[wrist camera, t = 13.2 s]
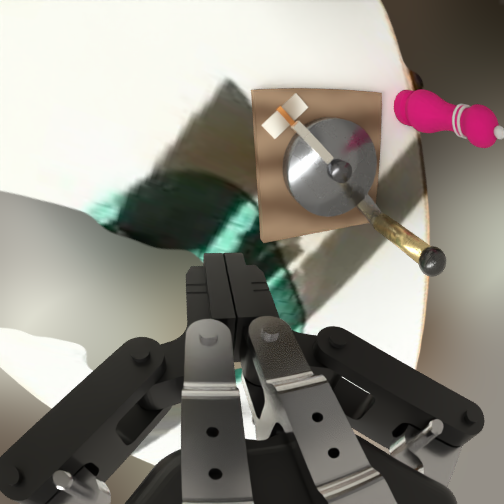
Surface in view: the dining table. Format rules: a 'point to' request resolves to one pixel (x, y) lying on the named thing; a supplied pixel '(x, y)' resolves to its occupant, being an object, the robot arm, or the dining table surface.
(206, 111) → the dining table surface
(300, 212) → the stand
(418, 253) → the turntable
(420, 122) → the pepper mill
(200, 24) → the dining table surface
